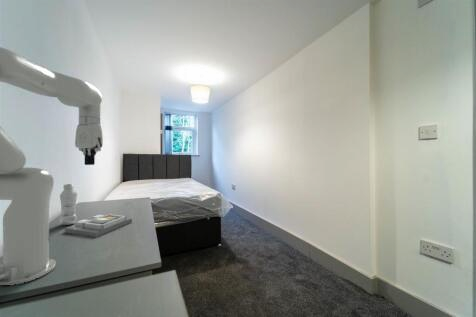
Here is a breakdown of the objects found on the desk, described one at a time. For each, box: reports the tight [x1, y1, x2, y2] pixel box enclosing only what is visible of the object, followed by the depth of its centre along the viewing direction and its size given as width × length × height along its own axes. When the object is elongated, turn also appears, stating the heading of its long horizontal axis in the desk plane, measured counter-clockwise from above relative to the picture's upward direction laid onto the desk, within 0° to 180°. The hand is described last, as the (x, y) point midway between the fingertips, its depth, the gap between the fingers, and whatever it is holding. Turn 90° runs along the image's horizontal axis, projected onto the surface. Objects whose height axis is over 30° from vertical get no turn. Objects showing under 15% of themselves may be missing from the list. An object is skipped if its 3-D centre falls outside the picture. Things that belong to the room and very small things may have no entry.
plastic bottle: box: [59, 183, 78, 226], centre depth 101 cm, size 6×7×20 cm
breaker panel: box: [64, 213, 133, 238], centre depth 99 cm, size 20×18×4 cm
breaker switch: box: [94, 217, 117, 223], centre depth 98 cm, size 8×5×1 cm, turn 166°
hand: (89, 164), depth 87 cm, fingers closed
